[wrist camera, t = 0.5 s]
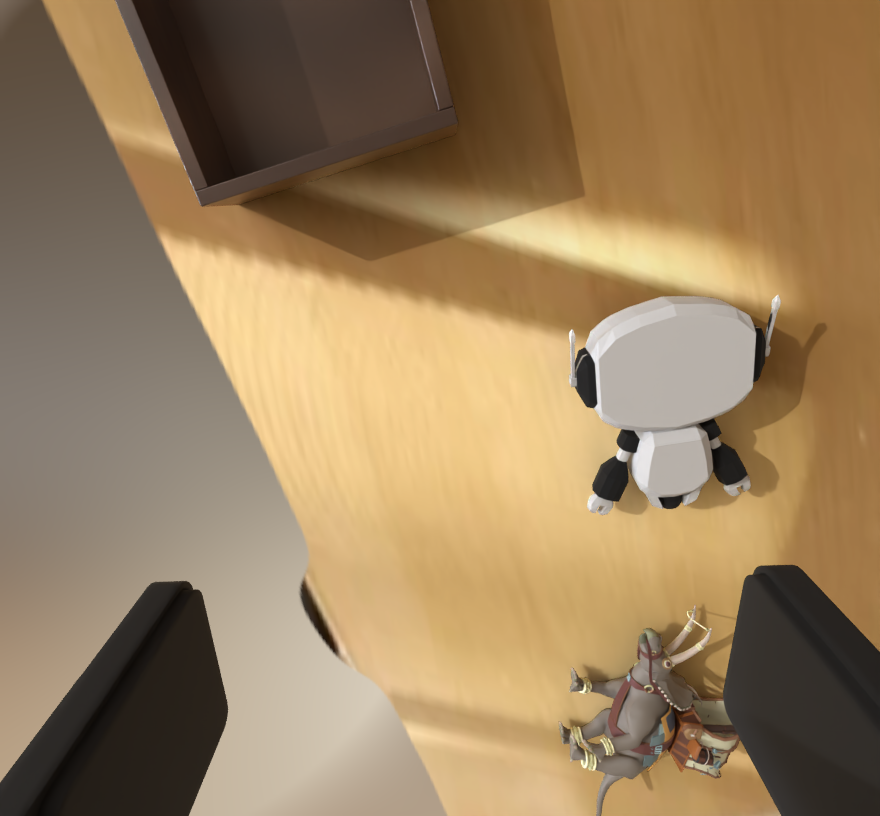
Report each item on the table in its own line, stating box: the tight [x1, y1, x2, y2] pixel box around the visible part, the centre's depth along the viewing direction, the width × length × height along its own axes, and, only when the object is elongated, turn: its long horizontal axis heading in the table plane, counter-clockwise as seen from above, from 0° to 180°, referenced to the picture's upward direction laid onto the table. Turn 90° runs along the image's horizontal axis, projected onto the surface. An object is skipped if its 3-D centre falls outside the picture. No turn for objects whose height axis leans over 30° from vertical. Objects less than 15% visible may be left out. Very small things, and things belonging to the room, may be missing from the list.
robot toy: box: [569, 295, 781, 515], centre depth 37 cm, size 12×4×15 cm
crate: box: [115, 0, 458, 207], centre depth 29 cm, size 16×14×6 cm
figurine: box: [559, 605, 740, 816], centre depth 46 cm, size 20×6×17 cm
